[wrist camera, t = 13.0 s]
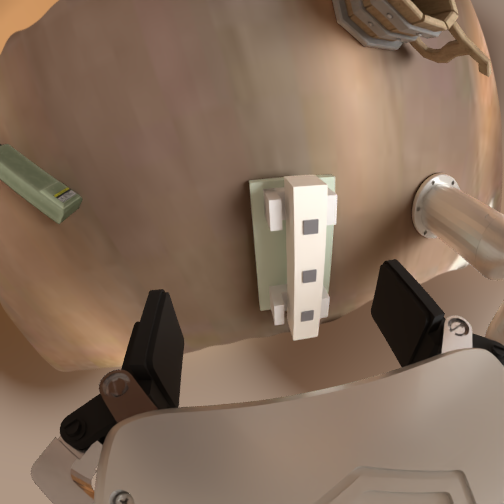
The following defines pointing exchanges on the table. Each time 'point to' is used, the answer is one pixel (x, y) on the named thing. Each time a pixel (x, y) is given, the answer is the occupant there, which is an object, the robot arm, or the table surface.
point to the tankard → (408, 27)
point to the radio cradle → (282, 243)
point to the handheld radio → (37, 185)
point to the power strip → (305, 252)
